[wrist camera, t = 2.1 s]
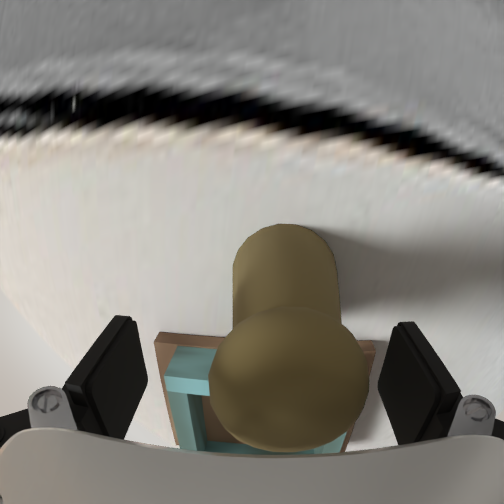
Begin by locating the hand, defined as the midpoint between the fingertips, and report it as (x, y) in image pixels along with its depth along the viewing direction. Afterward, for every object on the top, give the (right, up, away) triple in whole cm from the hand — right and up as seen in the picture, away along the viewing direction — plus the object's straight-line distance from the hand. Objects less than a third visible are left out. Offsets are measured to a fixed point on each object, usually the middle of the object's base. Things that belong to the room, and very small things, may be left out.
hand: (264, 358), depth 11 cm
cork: (+1, +2, +8) cm, 8 cm away
